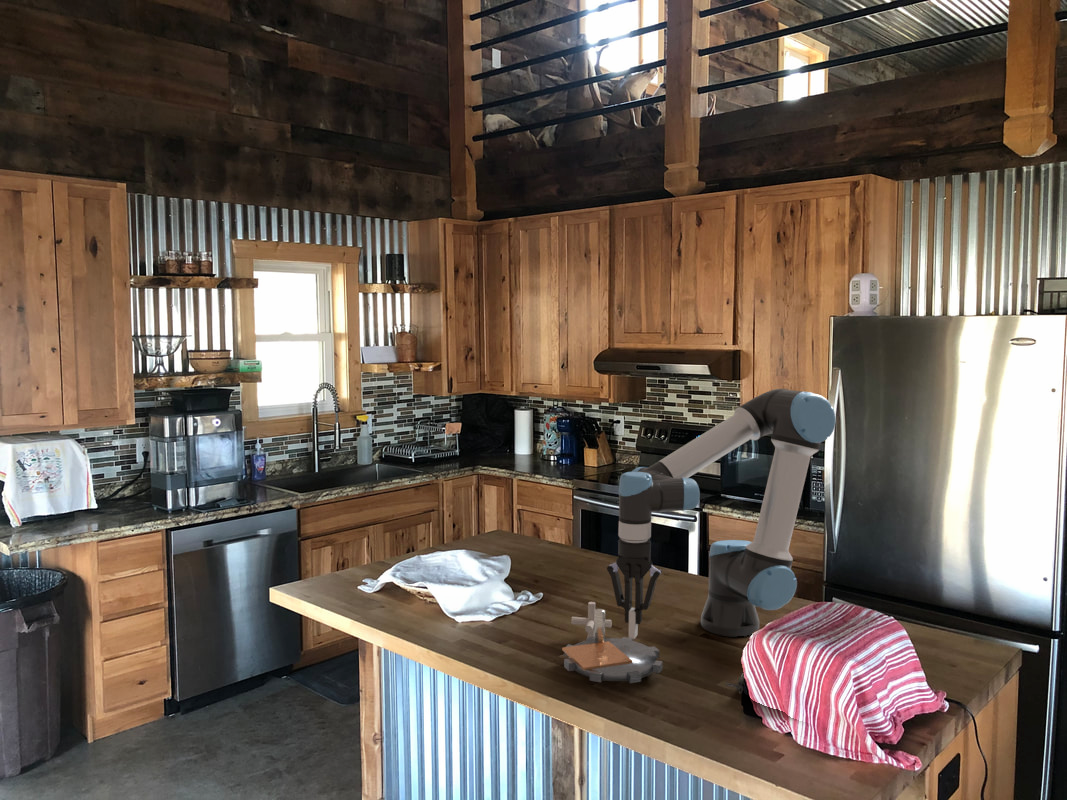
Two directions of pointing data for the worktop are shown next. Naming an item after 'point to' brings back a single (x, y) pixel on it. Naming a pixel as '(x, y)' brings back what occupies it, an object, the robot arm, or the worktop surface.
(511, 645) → the worktop surface
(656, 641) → the worktop surface
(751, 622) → the robot arm
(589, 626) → the pipe connector
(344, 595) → the worktop surface
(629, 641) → the sprocket
